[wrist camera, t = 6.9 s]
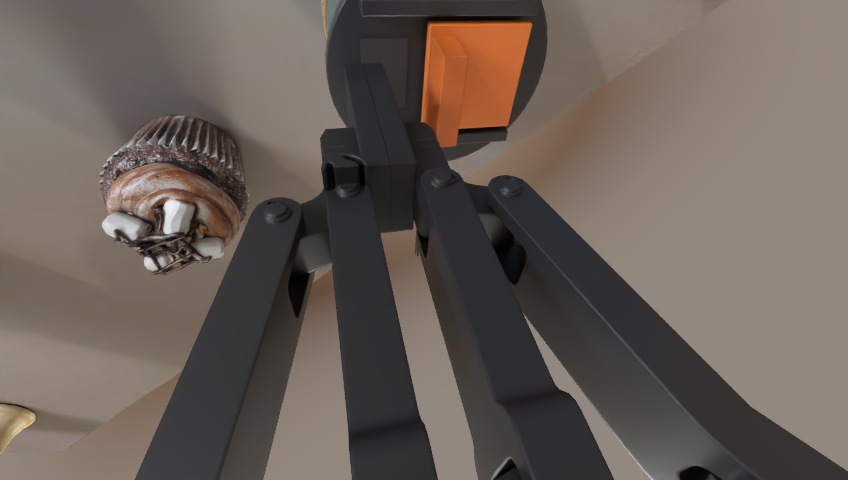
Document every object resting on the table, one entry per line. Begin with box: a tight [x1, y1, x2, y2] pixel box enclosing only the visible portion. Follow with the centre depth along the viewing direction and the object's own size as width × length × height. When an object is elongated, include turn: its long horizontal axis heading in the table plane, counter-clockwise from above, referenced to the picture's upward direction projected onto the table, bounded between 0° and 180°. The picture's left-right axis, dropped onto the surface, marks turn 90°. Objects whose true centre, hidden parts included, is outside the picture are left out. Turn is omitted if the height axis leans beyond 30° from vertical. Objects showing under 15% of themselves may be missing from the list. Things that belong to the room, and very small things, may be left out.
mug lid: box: [326, 0, 547, 161], centre depth 19 cm, size 10×10×2 cm
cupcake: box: [99, 115, 250, 275], centre depth 30 cm, size 10×10×10 cm
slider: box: [421, 20, 532, 147], centre depth 18 cm, size 4×5×2 cm
